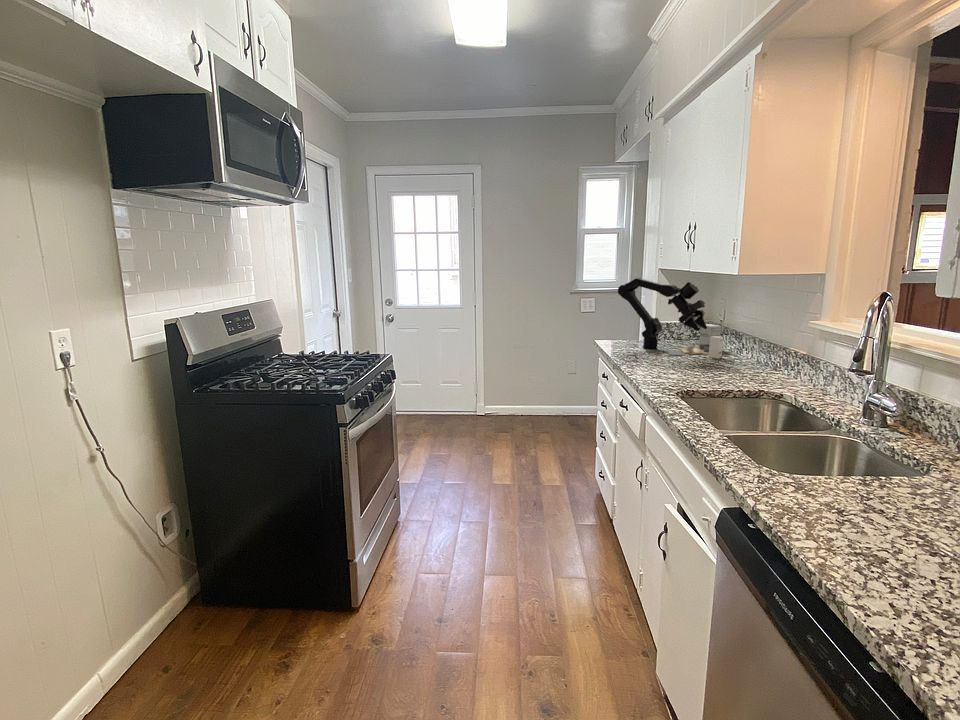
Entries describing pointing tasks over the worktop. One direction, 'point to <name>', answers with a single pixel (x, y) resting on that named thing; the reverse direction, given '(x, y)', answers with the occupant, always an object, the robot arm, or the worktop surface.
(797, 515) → the worktop surface
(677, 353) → the phone
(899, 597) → the worktop surface
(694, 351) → the dock station
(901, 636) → the worktop surface
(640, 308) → the robot arm
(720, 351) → the block
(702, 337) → the supplement box
